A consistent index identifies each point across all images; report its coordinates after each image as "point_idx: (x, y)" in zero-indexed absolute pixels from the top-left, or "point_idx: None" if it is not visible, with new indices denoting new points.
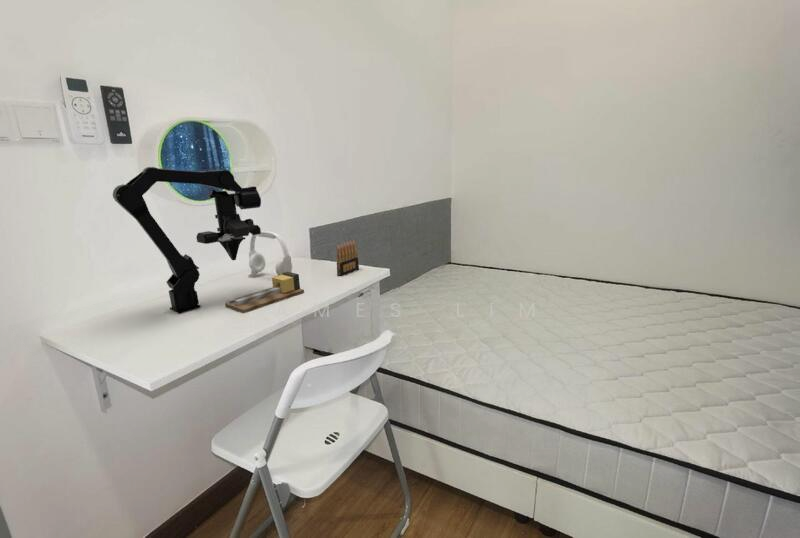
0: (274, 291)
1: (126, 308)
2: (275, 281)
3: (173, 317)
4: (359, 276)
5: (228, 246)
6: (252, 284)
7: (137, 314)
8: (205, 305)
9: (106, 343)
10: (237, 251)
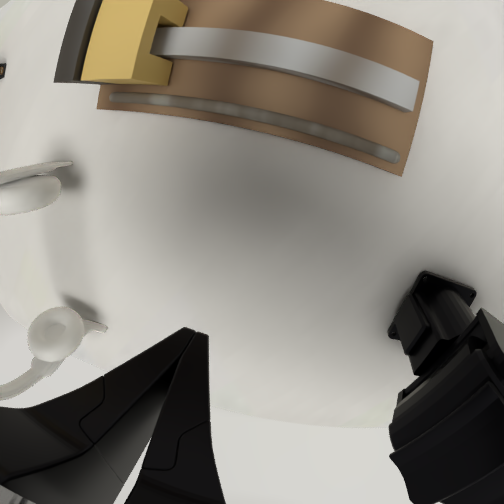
0: (208, 29)
1: None
2: (148, 50)
3: (495, 280)
4: (5, 27)
5: (214, 491)
6: (134, 270)
7: None
8: (399, 269)
9: None
10: (122, 366)
